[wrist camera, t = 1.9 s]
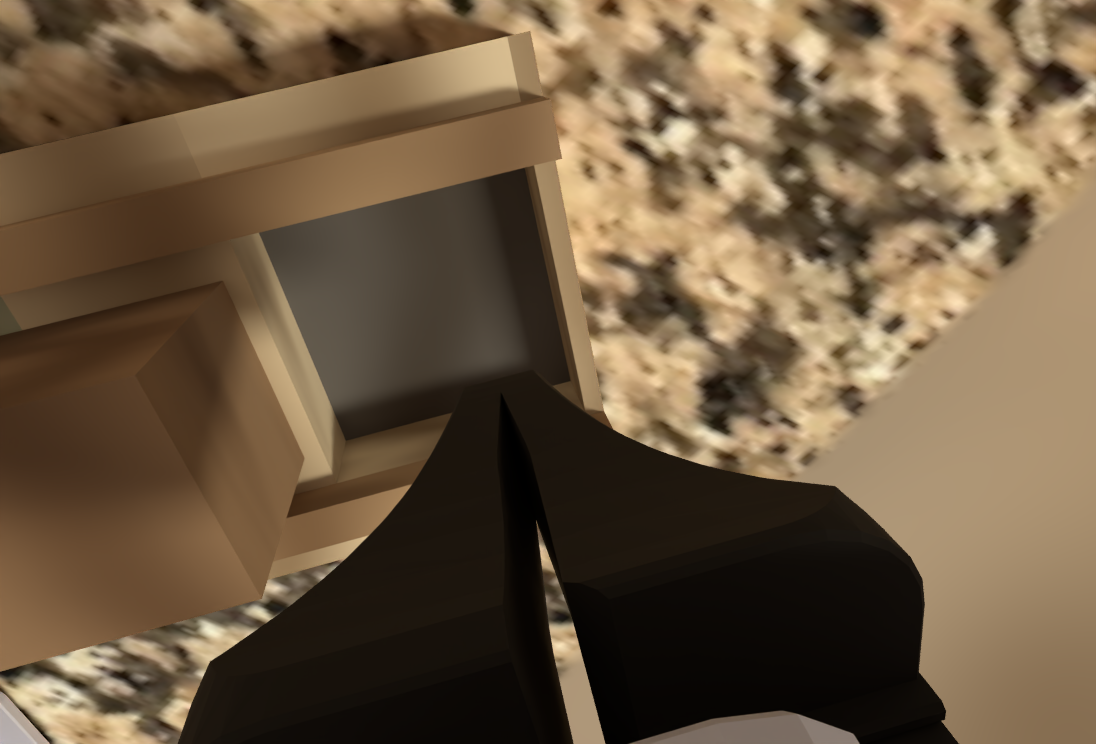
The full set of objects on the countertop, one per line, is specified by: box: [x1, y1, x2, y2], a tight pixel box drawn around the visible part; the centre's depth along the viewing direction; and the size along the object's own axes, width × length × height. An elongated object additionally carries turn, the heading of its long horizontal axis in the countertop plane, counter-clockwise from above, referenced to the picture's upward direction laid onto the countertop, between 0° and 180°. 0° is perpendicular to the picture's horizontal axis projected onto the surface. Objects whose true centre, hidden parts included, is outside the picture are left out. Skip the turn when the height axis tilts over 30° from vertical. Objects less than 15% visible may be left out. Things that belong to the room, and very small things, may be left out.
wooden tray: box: [0, 31, 613, 579], centre depth 16 cm, size 18×12×4 cm, turn 103°
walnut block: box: [0, 281, 305, 671], centre depth 14 cm, size 5×5×5 cm
